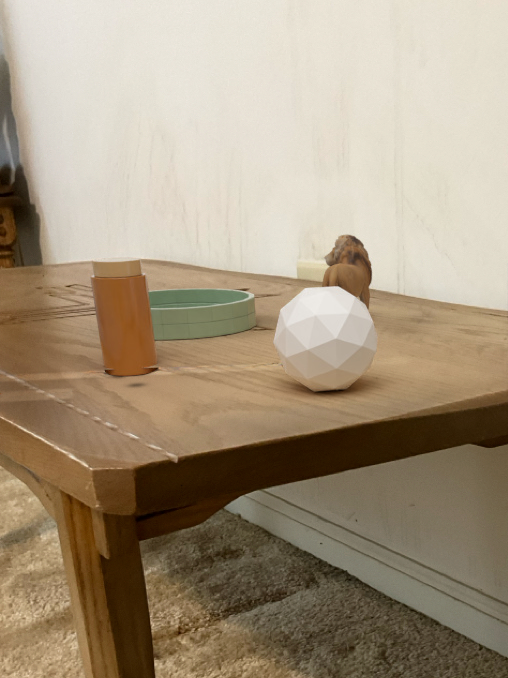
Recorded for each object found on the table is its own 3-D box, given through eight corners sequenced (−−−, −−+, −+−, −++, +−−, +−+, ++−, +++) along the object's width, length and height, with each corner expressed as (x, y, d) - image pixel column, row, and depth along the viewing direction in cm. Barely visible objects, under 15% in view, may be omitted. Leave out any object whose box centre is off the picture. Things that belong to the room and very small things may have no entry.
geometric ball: (320, 430, 65) (261, 356, 59) (302, 372, 70) (247, 299, 64) (406, 379, 64) (355, 299, 58) (381, 324, 69) (332, 246, 63)
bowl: (96, 349, 81) (90, 311, 80) (119, 323, 95) (114, 290, 93) (257, 342, 83) (254, 306, 82) (256, 318, 97) (254, 286, 96)
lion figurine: (328, 316, 98) (324, 233, 94) (374, 315, 98) (372, 232, 94) (315, 339, 84) (310, 244, 81) (369, 339, 84) (366, 243, 81)
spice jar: (100, 377, 70) (83, 263, 66) (109, 366, 74) (92, 257, 70) (155, 374, 71) (141, 261, 67) (161, 363, 75) (147, 256, 71)
